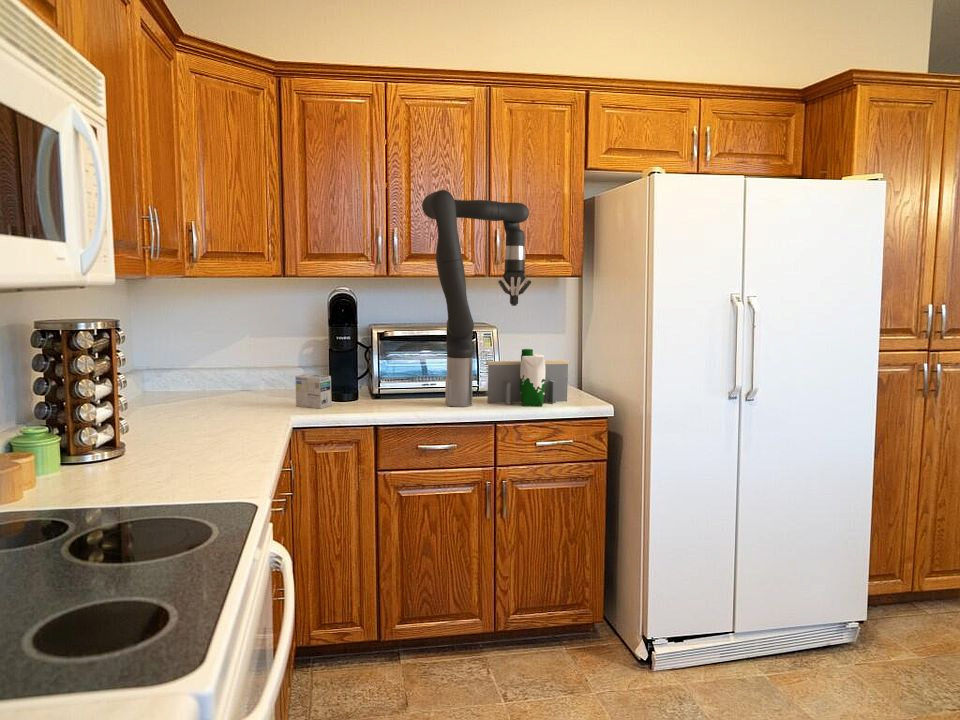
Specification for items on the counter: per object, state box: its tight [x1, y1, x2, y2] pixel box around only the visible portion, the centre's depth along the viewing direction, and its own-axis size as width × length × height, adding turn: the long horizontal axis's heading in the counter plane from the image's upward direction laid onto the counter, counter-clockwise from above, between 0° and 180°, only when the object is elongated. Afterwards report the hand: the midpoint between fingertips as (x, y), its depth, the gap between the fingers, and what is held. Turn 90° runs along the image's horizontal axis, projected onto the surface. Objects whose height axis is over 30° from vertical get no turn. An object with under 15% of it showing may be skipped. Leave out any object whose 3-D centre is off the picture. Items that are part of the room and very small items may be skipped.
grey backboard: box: [485, 359, 570, 406], centre depth 266 cm, size 31×7×15 cm, turn 102°
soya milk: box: [520, 348, 546, 407], centre depth 262 cm, size 9×9×20 cm
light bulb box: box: [295, 373, 332, 410], centre depth 254 cm, size 11×7×11 cm, turn 68°
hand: (513, 305), depth 271 cm, fingers closed
